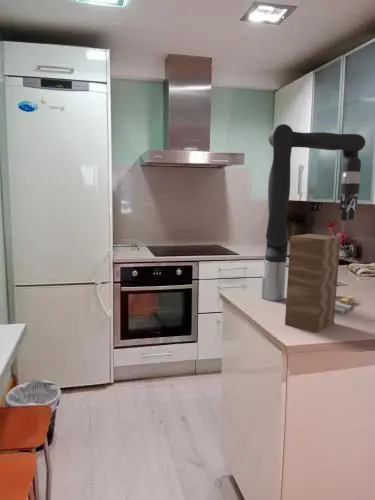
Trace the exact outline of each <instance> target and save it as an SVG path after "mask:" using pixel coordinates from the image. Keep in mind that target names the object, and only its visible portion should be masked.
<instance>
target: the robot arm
mask: <svg viewBox="0 0 375 500" xmlns="http://www.w3.org/2000/svg"><path fill="white" fill-rule="evenodd" d="M268 142H269V145H270V146H272V148H273V150H272V151H273V152H272V153H273V155H272V161H271V162H272V163H271V167H270V170H269V176H268V185H267V186H268V187H267V188H268V189H267V201H268V218H267V219H268V220H267V227H266V232H265V233H266V234H265V239H266V248H265V249H266V250H265V255H264V256H265V259H264V273H263V274H264V276H263V277H262V280H261V281H262V283H261V299H265V300H268V301H271V302H272V301H275V302H276V301H278V302H279V301H284V300H285V289H286V288H285V287H286V284H285V283H286V270H287V257H288V247H289V246H288V244H289V232H288V229H287V211H288V206H289V202H290V193H291V171H292V170H291V158H292V148H305V149H306V148H307V149H315V150H316V149H317V150H324V151H338V150H340V151H342V159H343V165H342V167H343V168H342V174H341V181H340V182H341V184H340V194H343V195H341V196H340V200H339V201H340V202H339V211H341V215H340V216H341V218H340V219H341V221H348V220H350V221H353V220H355V219H354V218H355V212H356V210H358V209H357V208H358V199H359V197H358V196H356V195H358V194H360V187H361V167H362V161H361V158H360V157H359V152H360V151H361V150H363V149H364V147H365V146H366V139H365V137H364V136H363V135H361V134H357V133H333V132H320V131H319V132H298V131H294V130H293V129H292V127H291V126H290V125H288V124H285V123H283V124H282V123H281V124H279V125H277V126H275V127H274V128H273V129H272V130H271V131H270V132H269V135H268Z"/></svg>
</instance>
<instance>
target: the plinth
mask: <svg viewBox="0 0 375 500" xmlns="http://www.w3.org/2000/svg"><path fill="white" fill-rule="evenodd" d="M289 238H290V239H289V252H288V253H289V255H288V269H287V270H288V271H287V284H286V285H287V286H286V297H285V298H286V302H285V316H284V317H285V318H284V325H286V326H289V327H293V328H297V329H301V330H303V331H304V330H305V331H307V332H313V333H319V332H321V331H322V330H325V328H328V327H329V326H331V325H333V324H334V323H335V314H336V313H335V302H337V301H336V299H337V288H338V287H337V285H338V277H339V275H338V274H339V273H338V272H339V263H340V251H341V239H342V238H341V236H337V235H325V234H316V233H315V234H314V233H306V234H304V233H303V234H299V235H297V234H296V235H292V236H291V235H290V237H289Z"/></svg>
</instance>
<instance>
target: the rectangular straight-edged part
mask: <svg viewBox="0 0 375 500" xmlns="http://www.w3.org/2000/svg"><path fill="white" fill-rule="evenodd" d="M354 299H355V296H352V295H347V296H344V297H343V298H341V299H339V302H337V301H336V302H335V314H338V315H342V314H345V313H346V312H348V311H350V310H352V309H353V305H352V304H353V303H354V301H355V300H354ZM351 308H352V309H351Z"/></svg>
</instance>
